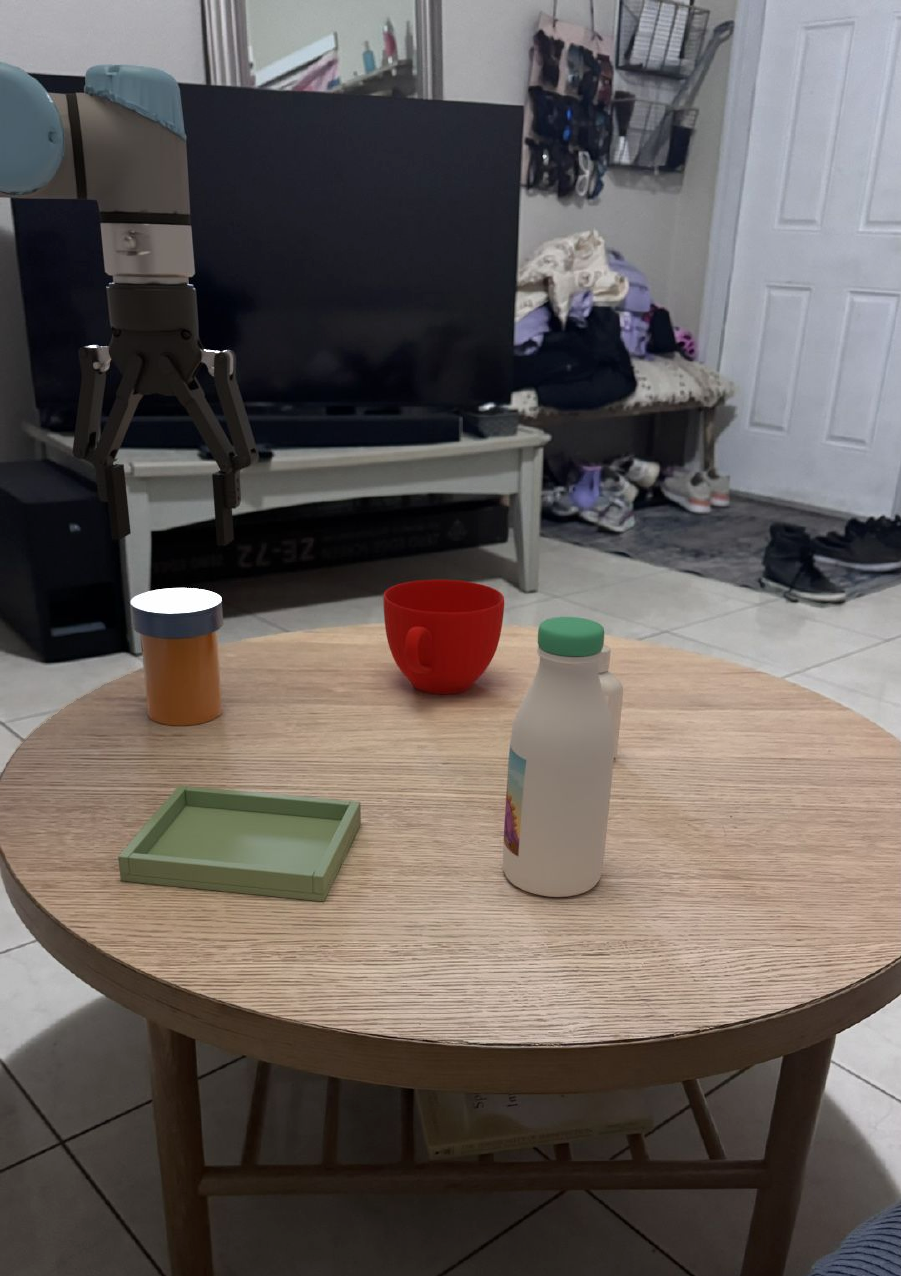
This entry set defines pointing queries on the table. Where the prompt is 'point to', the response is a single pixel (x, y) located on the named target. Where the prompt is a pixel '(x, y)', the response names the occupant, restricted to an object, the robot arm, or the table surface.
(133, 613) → the lid
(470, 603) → the ceramic cup
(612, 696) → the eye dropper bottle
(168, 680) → the jar
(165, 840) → the tray
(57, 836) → the table surface
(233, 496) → the robot arm
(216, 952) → the table surface
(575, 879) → the milk bottle
